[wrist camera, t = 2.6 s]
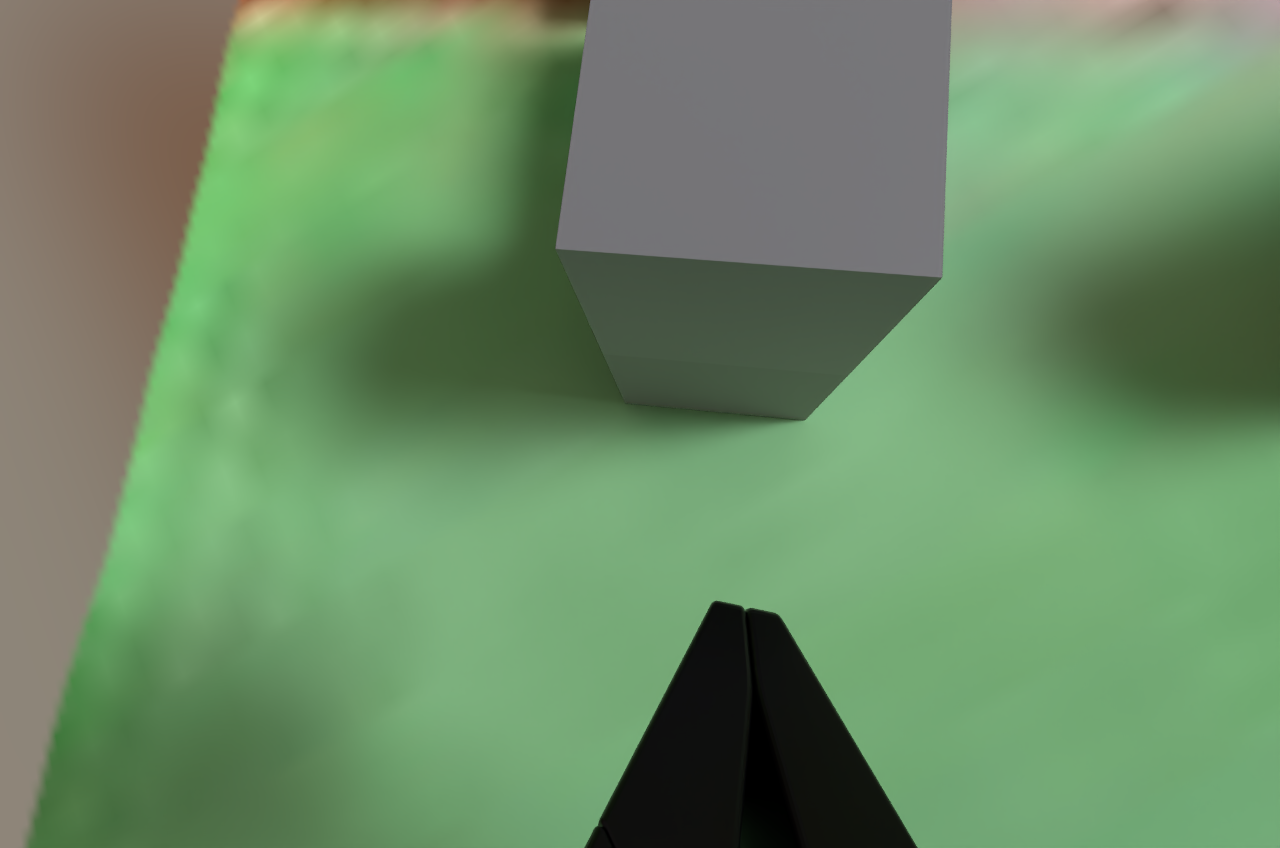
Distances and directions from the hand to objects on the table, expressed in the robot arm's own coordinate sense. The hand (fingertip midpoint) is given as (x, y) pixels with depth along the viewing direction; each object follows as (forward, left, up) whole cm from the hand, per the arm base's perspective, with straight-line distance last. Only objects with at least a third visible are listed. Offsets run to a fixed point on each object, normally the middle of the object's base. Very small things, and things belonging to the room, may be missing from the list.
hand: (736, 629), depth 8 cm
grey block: (+12, +2, -13) cm, 18 cm away
